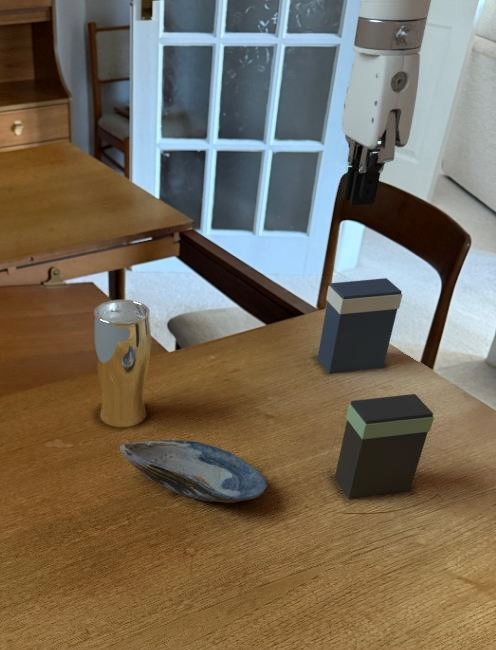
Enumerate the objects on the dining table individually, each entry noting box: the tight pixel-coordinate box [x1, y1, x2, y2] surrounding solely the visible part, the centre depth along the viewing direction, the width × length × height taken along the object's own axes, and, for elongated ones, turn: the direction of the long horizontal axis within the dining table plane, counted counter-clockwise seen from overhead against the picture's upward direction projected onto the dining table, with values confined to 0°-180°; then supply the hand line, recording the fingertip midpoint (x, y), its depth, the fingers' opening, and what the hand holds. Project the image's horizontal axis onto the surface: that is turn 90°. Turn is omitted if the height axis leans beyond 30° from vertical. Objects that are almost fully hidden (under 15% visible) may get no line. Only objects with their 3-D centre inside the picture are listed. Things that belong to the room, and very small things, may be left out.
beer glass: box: [92, 299, 152, 428], centre depth 92 cm, size 7×7×15 cm
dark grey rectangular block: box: [334, 393, 435, 500], centre depth 81 cm, size 8×4×11 cm, turn 99°
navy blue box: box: [317, 277, 403, 374], centre depth 102 cm, size 8×5×12 cm, turn 99°
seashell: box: [119, 439, 268, 503], centre depth 83 cm, size 15×12×5 cm
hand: (358, 200), depth 97 cm, fingers closed
